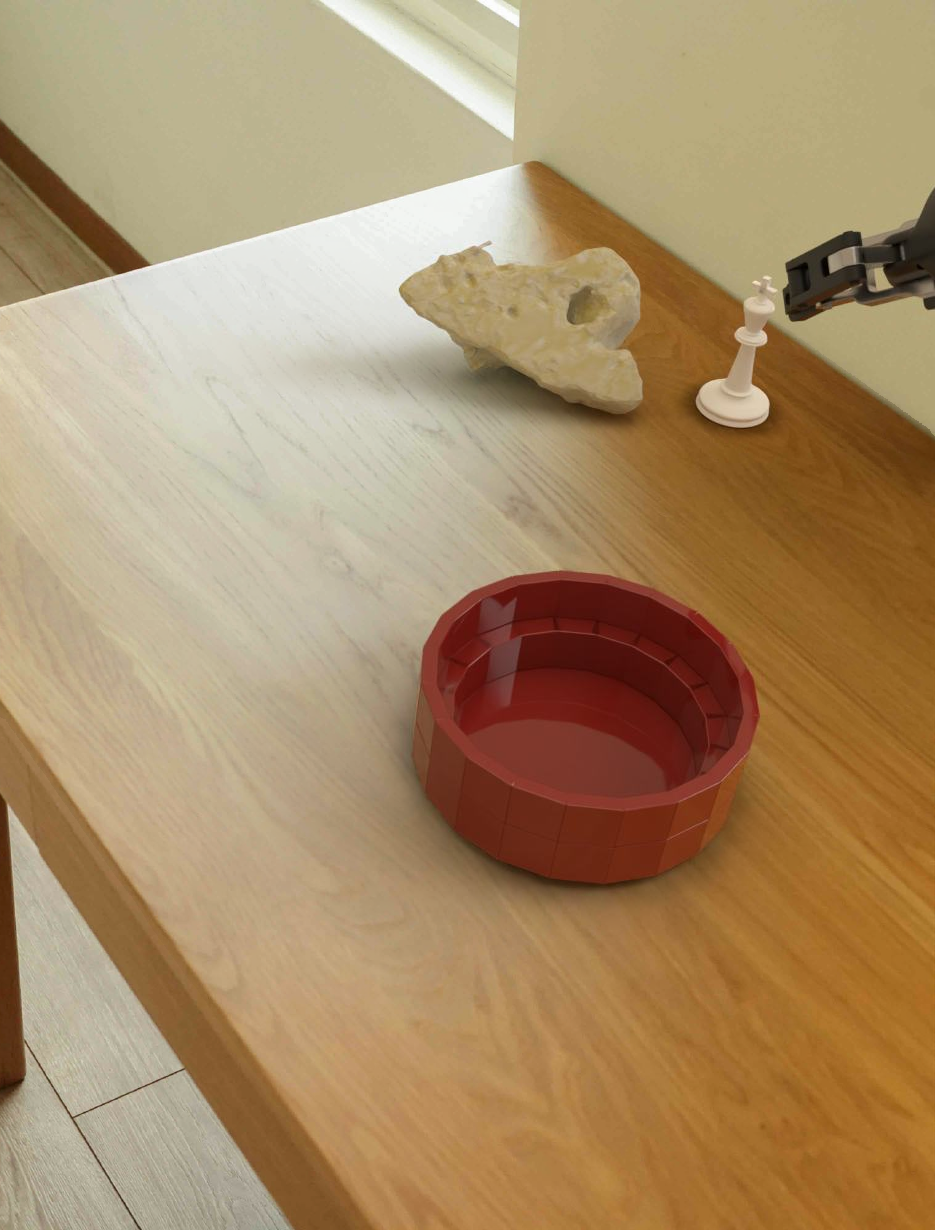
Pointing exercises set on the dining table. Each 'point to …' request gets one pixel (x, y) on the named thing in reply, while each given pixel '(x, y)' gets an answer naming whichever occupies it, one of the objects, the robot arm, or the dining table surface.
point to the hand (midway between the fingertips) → (860, 298)
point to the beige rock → (540, 320)
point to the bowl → (582, 725)
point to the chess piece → (742, 369)
